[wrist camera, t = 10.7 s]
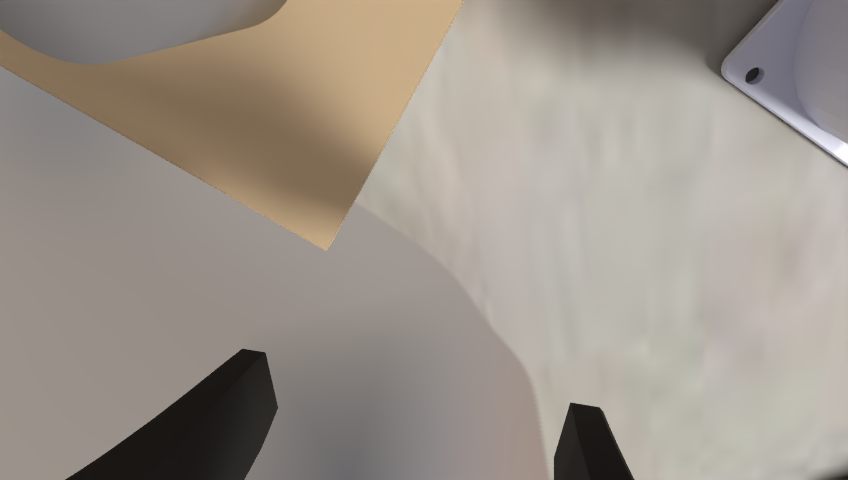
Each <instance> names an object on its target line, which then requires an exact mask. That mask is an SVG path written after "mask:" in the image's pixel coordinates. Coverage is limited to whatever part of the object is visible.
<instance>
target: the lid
mask: <svg viewBox="0 0 848 480" xmlns="http://www.w3.org/2000/svg"><path fill="white" fill-rule="evenodd" d="M464 1H465V0H287V1H286V3H285V4H284V5H283V6H282V8H281V9H280V10H279V11H278V12H277V13H276V14H274V15H273V16H272V17H271V18H269V19H268V20H266V21H264V22H262V23H261V24H259V25H256V26H253V27H250V28H246V29H242V30H238V31H235V32H231V33H227V34H223V35H219V36H215V37H211V38H207V39H203V40H199V41H195V42H191V43H187V44H183V45H179V46H175V47H171V48H167V49H163V50H159V51H155V52H151V53H147V54H143V55H140V56H136V57H132V58H128V59H124V60H120V61H116V62H111V63H105V64H99V65H88V64H77V63H71V62H66V61H62V60H59V59H56V58H52V57H49V56H47V55H45V54H42V53H40V52H38V51H35V50H33V49H31V48H29V47H28V46H26V45H24V44H22V43H21V42H19V41H17V40H15V39H14V38H12V37H11V36H9V35H8V34H6V33H5V32H4V31H2V30H1V29H0V66H2V67H4V68H5V69H7V70H9V71H11V72H13V73H14V74H16V75H18V76H19V77H21V78H23V79H25V80H26V81H28V82H30V83H32V84H34V85H35V86H37V87H39V88H41V89H42V90H44V91H46V92H48V93H49V94H51V95H53V96H55V97H57V98H58V99H60V100H62V101H63V102H65V103H67V104H69V105H70V106H72V107H74V108H76V109H77V110H79V111H81V112H83V113H84V114H86V115H88V116H90V117H92V118H93V119H95V120H97V121H99V122H100V123H102V124H104V125H106V126H107V127H109V128H111V129H113V130H114V131H116V132H118V133H120V134H121V135H123V136H125V137H127V138H128V139H130V140H132V141H134V142H136V143H137V144H139V145H141V146H143V147H144V148H146V149H148V150H150V151H151V152H153V153H155V154H157V155H158V156H160V157H162V158H164V159H165V160H167V161H169V162H171V163H172V164H174V165H176V166H178V167H179V168H181V169H183V170H185V171H186V172H188V173H190V174H192V175H193V176H195V177H197V178H199V179H200V180H202V181H204V182H206V183H207V184H209V185H211V186H213V187H214V188H216V189H218V190H220V191H221V192H223V193H225V194H227V195H228V196H230V197H232V198H234V199H236V200H238V201H239V202H241V203H243V204H245V205H246V206H248V207H250V208H251V209H253V210H255V211H257V212H259V213H260V214H262V215H264V216H265V217H267V218H269V219H271V220H272V221H274V222H276V223H278V224H280V225H281V226H283V227H285V228H287V229H288V230H290V231H292V232H294V233H295V234H297V235H299V236H301V237H302V238H304V239H306V240H308V241H309V242H311V243H313V244H315V245H316V246H318V247H320V248H322V249H324V250H325V251H326V250H327V249H328V248H329V246H330V245H331V243H332V242H333V240H334V238H335V236H336V234H337V233H338V231H339V229H340V227H341V225H342V223H343V222H344V220H345V218H346V216H347V214H348V212H349V211H350V209H351V207H352V205H353V203H354V202H355V200H356V198H357V196H358V194H359V192H360V191H361V189H362V187H363V185H364V183H365V182H366V180H367V178H368V176H369V174H370V172H371V171H372V169H373V167H374V165H375V163H376V162H377V160H378V158H379V156H380V154H381V152H382V151H383V149H384V147H385V145H386V143H387V142H388V140H389V138H390V136H391V134H392V132H393V131H394V129H395V127H396V125H397V123H398V122H399V120H400V118H401V116H402V114H403V112H404V111H405V109H406V107H407V105H408V103H409V101H410V100H411V98H412V96H413V94H414V92H415V91H416V89H417V87H418V85H419V83H420V81H421V80H422V78H423V76H424V74H425V72H426V71H427V69H428V67H429V65H430V63H431V61H432V60H433V58H434V56H435V54H436V52H437V51H438V49H439V47H440V45H441V43H442V41H443V40H444V38H445V36H446V34H447V32H448V31H449V29H450V27H451V25H452V23H453V21H454V20H455V18H456V16H457V14H458V12H459V11H460V9H461V7H462V5H463V3H464Z"/></svg>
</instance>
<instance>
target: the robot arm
mask: <svg viewBox="0 0 848 480" xmlns="http://www.w3.org/2000/svg"><path fill="white" fill-rule="evenodd" d="M757 67H758V69H759V74H758V76H757V77H756V78H755V79H754V80H752V81H750V82H746V81H745V76H746V74H747V73H748V71H750V70H751V69H753V68H757ZM721 73H722V76H723V77H724V78H725V79H726V80H727V81H729V82H730V83H732V84H733V85H734V86H736V87H737V88H739V89H740V90H741V91H743V92H744V93H746V94H747V95H748V96H750V97H751V98H753V99H754V100H755V101H757V102H758V103H760V104H761V105H762V106H764V107H765V108H767V109H768V110H769V111H771V112H772V113H774V114H775V115H776V116H778V117H779V118H781V119H782V120H783V121H785V122H786V123H788V124H789V125H790V126H792V127H793V128H795V129H796V130H797V131H799V132H800V133H802V134H803V135H804V136H806V137H807V138H809V139H810V140H811V141H813V142H814V143H816V144H817V145H818V146H820V147H821V148H823V149H824V150H825V151H827V152H828V153H830V154H831V155H832V156H834V157H835V158H837V159H838V160H839V161H841V162H842V163H844V164H845V165H846V166H848V0H779V1H778V2H777V3H776V4H775V5H774V6H773V7H772V8H771V10H770V11H769V12H768V13H767V14H766V15H765V16H764V17H763V18H762V19H761V20H760V21H759V22H758V23H757V25H756V26H755V27H754V28H753V29H752V30H751V31H750V32H749V33H748V34H747V35H746V36H745V37H744V38H743V39H742V41H741V42H740V43H739V44H738V45H737V46H736V47H735V48H734V49H733V50H732V51H731V52H730V53H729V54H728V56H727V57H726V58H725V60H724V61H723V62H722V66H721ZM277 409H278V406H277V401H276V397H275V392H274V389H273V384H272V380H271V375H270V370H269V366H268V362H267V357H266V353H265V352H259V351H252V350H247V349H242V350H240V351H239V352H238V353H236V354H235V355H234V356H232V357H231V358H230V359H229V360H227V361H226V362H225V363H224V364H222V365H221V366H220V367H219V368H217V369H216V370H215V371H214V372H212V373H211V374H210V375H209V376H207V377H206V378H205V379H204V380H202V381H201V382H200V383H199V384H197V385H196V386H195V387H194V388H192V389H191V390H190V391H189V392H187V393H186V394H185V395H183V396H182V397H181V398H180V399H179V400H177V401H176V402H175V403H173V404H172V405H170V406H169V407H168V408H167V409H165V410H164V411H163V412H162V413H160V414H159V415H158V416H156V417H155V418H154V419H152V420H151V421H150V422H148V423H147V424H146V425H144V426H143V427H141V428H140V429H139V430H137V431H136V432H134V433H133V434H132V435H130V436H129V437H128V438H126V439H125V440H123V441H122V442H121V443H119V444H118V445H116V446H115V447H114V448H112V449H111V450H109V451H108V452H107V453H105V454H104V455H102V456H101V457H99V458H98V459H96V460H95V461H93V462H92V463H90V464H89V465H87V466H86V467H84V468H83V469H81V470H80V471H78V472H77V473H75V474H74V475H72V476H70V477H69V478H67V479H66V480H244V479H245V477H246V475H247V473H248V472H249V470H250V468H251V466H252V465H253V463H254V461H255V459H256V457H257V455H258V453H259V452H260V450H261V448H262V445H263V443H264V441H265V438H266V436H267V434H268V431H269V429H270V426H271V424H272V421H273V419H274V416H275V414H276V411H277ZM554 480H634V478H633V476H632V474H631V472H630V470H629V468H628V466H627V464H626V462H625V460H624V458H623V456H622V453H621V451H620V449H619V447H618V445H617V443H616V440H615V438H614V436H613V434H612V431H611V429H610V427H609V425H608V422H607V420H606V418H605V415H604V413H603V411H602V410H601V409H600V408H599V407H594V406H588V405H582V404H576V403H570V406H569V409H568V413H567V416H566V419H565V423H564V426H563V429H562V433H561V436H560V439H559V443H558V446H557V450H556V453H555V456H554Z"/></svg>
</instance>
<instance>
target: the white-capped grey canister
mask: <svg viewBox="0 0 848 480" xmlns="http://www.w3.org/2000/svg"><path fill="white" fill-rule="evenodd" d="M286 1H287V0H0V29H1V30H2V31H4V32H5V33H6V34H8V35H9V36H11V37H12V38H14V39H15V40H17V41H19V42H21V43H22V44H24V45H26V46H28V47H29V48H31V49H33V50H35V51H38V52H40V53H42V54H45V55H47V56H49V57H52V58H56V59H59V60H62V61H66V62H71V63H77V64H88V65H99V64H105V63H111V62H116V61H120V60H124V59H128V58H132V57H136V56H140V55H143V54H147V53H151V52H155V51H159V50H163V49H167V48H171V47H175V46H179V45H183V44H187V43H191V42H195V41H199V40H203V39H207V38H211V37H215V36H219V35H223V34H227V33H231V32H235V31H238V30H242V29H246V28H250V27H253V26H256V25H259V24H261V23H262V22H264V21H266V20H268V19H269V18H271V17H272V16H273V15H274V14H276V13H277V12H278V11H279V10H280V9H281V8H282V6H283V5H284V4H285V3H286Z"/></svg>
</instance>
